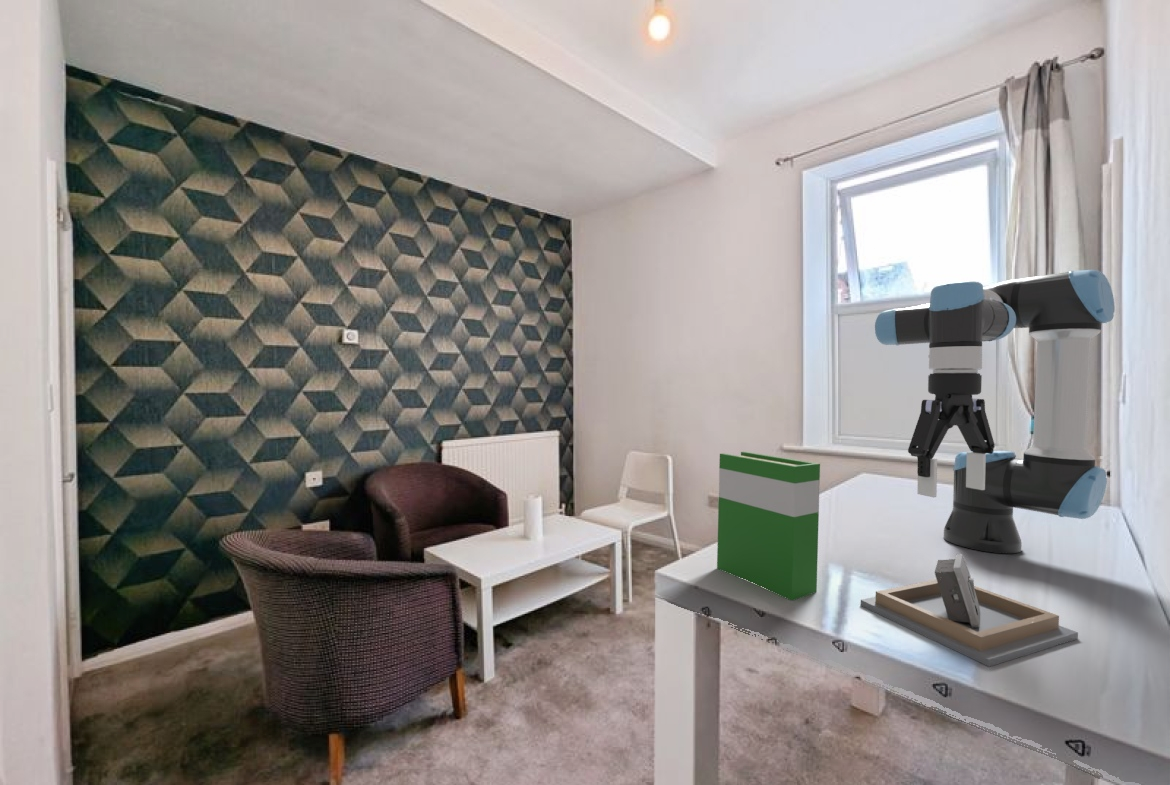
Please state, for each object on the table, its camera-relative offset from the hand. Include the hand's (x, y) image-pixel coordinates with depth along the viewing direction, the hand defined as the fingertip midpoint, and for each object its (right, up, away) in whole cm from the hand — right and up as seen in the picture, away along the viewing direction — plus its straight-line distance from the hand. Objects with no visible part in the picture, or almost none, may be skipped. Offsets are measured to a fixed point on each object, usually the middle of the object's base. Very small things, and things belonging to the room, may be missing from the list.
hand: (951, 492), depth 88 cm
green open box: (-30, -20, +10) cm, 37 cm away
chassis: (-3, -20, -6) cm, 21 cm away
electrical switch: (-3, -19, -6) cm, 21 cm away
